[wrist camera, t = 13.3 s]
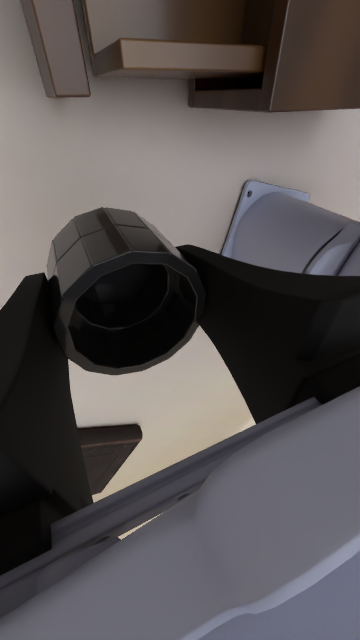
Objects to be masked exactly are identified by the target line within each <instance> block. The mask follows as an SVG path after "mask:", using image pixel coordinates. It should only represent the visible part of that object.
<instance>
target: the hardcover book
mask: <svg viewBox="0 0 360 640" xmlns="http://www.w3.org/2000/svg"><path fill="white" fill-rule="evenodd" d="M78 434H79V439H80V444H81V449H82V454H83V458H84V463H85V468H86V472H87V477H88V481H89V486H90V490H91V494H92V495H93V494H97V493H101V492H102V491H103V489H104V488H105V487H106V485H107V484H108V483H109V481H110V480H111V479H112V477H113V476H114V475H115V474H116V472H117V471H118V470H119V468H120V467H121V466H122V464H123V463H124V462H125V460H126V459H127V458H128V457H129V455H130V454H131V453H132V451H133V450H134V449H135V447H136V446H137V445H138V443H139V442H140V441H141V440H142V430H141V428H140V426H139V425H134V426H121V427H107V428H94V429H81V430H78Z"/></svg>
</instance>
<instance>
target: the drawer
mask: <svg viewBox="0 0 360 640" xmlns="http://www.w3.org/2000/svg"><path fill="white" fill-rule="evenodd" d="M20 1H21V4H22V8H23V12H24V15H25V19H26V23H27V26H28V30H29V34H30V37H31V41H32V45H33V48H34V52H35V56H36V59H37V63H38V67H39V70H40V74H41V78H42V81H43V85H44V89H45V93H46V96H47V97H54V98H65V97H90V96H91V93H90V88H89V82H88V77H87V71H86V66H85V61H84V55H83V50H82V44H81V39H80V34H79V28H78V23H77V17H76V12H75V6H74V1H73V0H20ZM81 3H82V9H83V15H84V21H85V26H86V32H87V38H88V44H89V50H90V56H91V61H92V67H93V73H94V77H95V78H145V79H246V78H259V77H263V76H264V69H265V62H266V56H267V49H268V42H269V36H270V29H271V23H272V16H273V9H274V3H275V0H81Z"/></svg>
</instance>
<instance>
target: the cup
mask: <svg viewBox="0 0 360 640" xmlns="http://www.w3.org/2000/svg"><path fill="white" fill-rule="evenodd" d="M47 275H48V284H49V293H50V303H51V313H52V322H53V330H54V333H55V335H56V338H57V340H58V343H59V345H60V348H61V350H62V353H63V354H64V356H65V357H67V358H68V359H70V360H71V361H73V362H74V363H76V364H77V365H79V366H80V367H82V368H83V369H84V370H86V371H90V372H96V373H102V374H108V375H121V374H127V373H133V372H139V371H143V370H146V369H148V368H150V367H152V366H154V365H157V364H159V363H161V362H163V361H165V360H167V359H169V358H170V357H171V356H173V355H174V354H175V353H176V352H177V351H178V350H179V349H181V348H182V347H183V346H184V345H185V344H186V343H187V342H189V340H190V339H191V338H192V336H193V334H194V333H195V331H196V329H197V328H198V326H199V324H200V323H201V321H202V319H203V317H204V309H205V301H206V290H205V288H204V286H203V283H202V281H201V279H200V276H199V274H198V272H197V270H196V269H195V267H194V266H193V265H192V264H191V263H190V262H189V261H188V260H187V259H186V258H185V257H184V256H183V255H182V254H181V253H180V252H179V251H178V250H177V249H176V248H175V247H174V246H173V245H172V244H171V243H170V242H169V241H168V240H167V238H166V237H165V236H164V235H163V234H162V233H161V232H160V231H159V230H158V229H157V228H156V227H155V226H154V225H152V224H151V223H149V222H148V221H147V220H145V219H144V218H142V217H141V216H139V215H138V214H137V213H135V212H132V211H127V210H120V209H113V208H103V207H102V208H99V209H96V210H93V211H90V212H87V213H84V214H81V215H78V216H75V217H74V218H73V219H71V221H70V222H69V223H68V224H67V225H66V226H65V227H64V228H63V229H62V230H61V231H60V232H59V233H58V234H57V235H56V237H55V238H54V240H52V243H51V248H50V252H49V257H48V262H47Z"/></svg>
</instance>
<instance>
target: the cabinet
mask: <svg viewBox="0 0 360 640" xmlns="http://www.w3.org/2000/svg"><path fill="white" fill-rule="evenodd" d="M188 106H189V107H193V108H207V109H222V110H237V111H253V112H268V113H270V112H293V111H316V110H338V109H360V0H275V3H274V9H273V16H272V23H271V29H270V36H269V42H268V49H267V56H266V62H265V69H264V76H263V77H259V78H246V79H189V102H188Z"/></svg>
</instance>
